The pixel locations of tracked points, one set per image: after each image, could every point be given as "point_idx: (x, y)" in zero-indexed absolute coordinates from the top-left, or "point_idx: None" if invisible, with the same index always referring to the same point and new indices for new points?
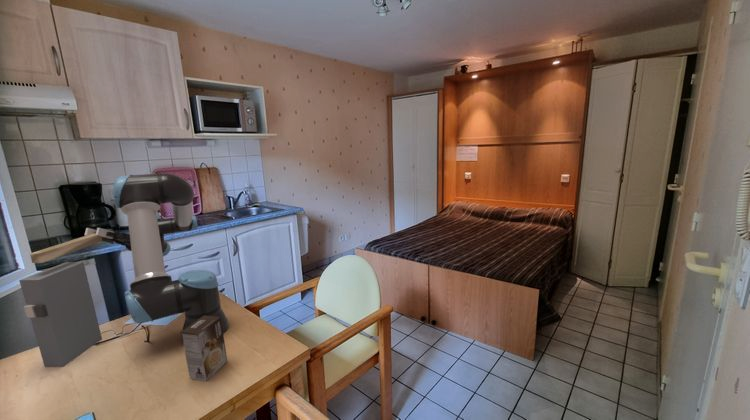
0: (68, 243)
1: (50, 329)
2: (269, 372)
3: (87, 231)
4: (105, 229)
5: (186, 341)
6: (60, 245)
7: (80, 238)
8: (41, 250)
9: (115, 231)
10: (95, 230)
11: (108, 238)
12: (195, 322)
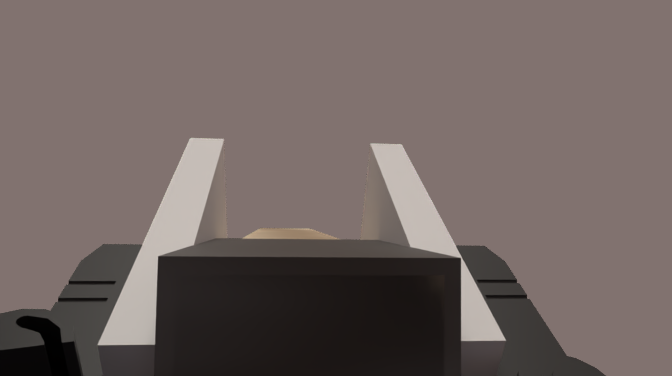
0: (266, 232)
1: None
2: None
3: (365, 194)
4: (169, 190)
5: None
6: (282, 231)
7: (298, 237)
8: (302, 229)
9: (60, 341)
10: (389, 214)
11: None
12: None
